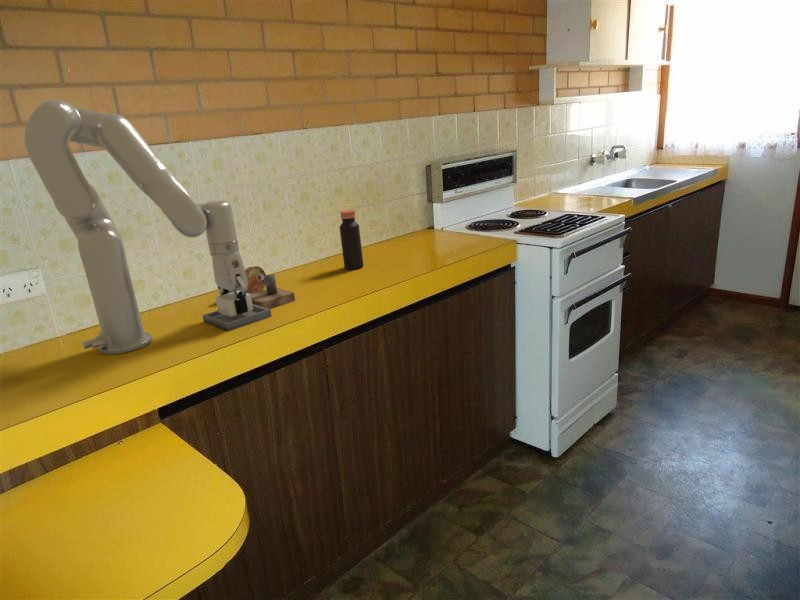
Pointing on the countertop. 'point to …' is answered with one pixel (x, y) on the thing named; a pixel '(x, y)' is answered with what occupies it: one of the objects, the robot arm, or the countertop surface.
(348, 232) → the bottle
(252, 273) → the tin
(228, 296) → the off-white open box
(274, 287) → the wooden stand
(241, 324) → the tray
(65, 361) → the countertop surface
